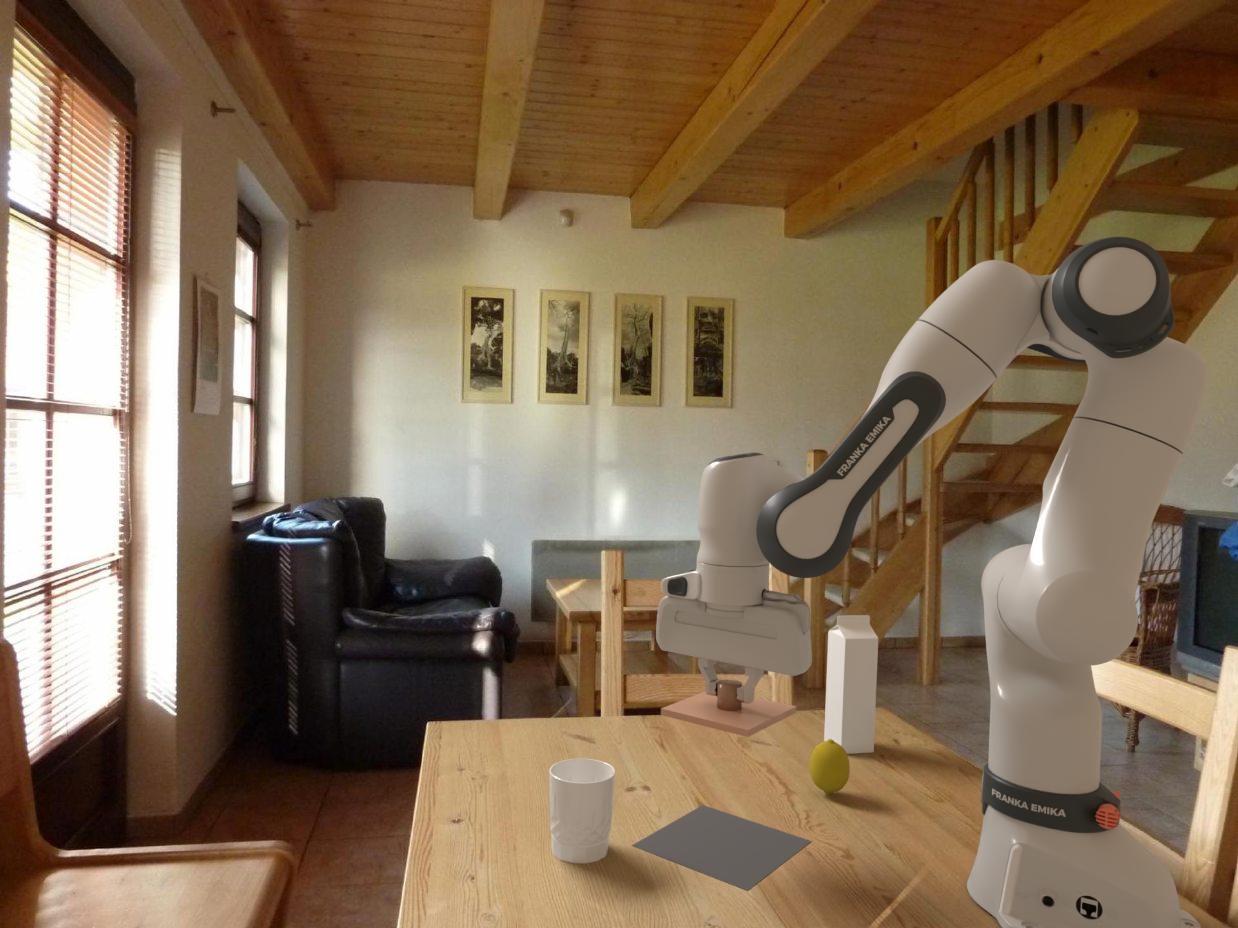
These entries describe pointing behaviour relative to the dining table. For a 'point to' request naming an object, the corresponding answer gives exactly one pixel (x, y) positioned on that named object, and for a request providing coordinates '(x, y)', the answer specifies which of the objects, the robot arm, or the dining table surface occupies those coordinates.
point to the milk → (851, 684)
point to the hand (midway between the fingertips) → (729, 698)
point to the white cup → (581, 809)
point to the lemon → (829, 767)
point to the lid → (729, 711)
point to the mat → (723, 846)
